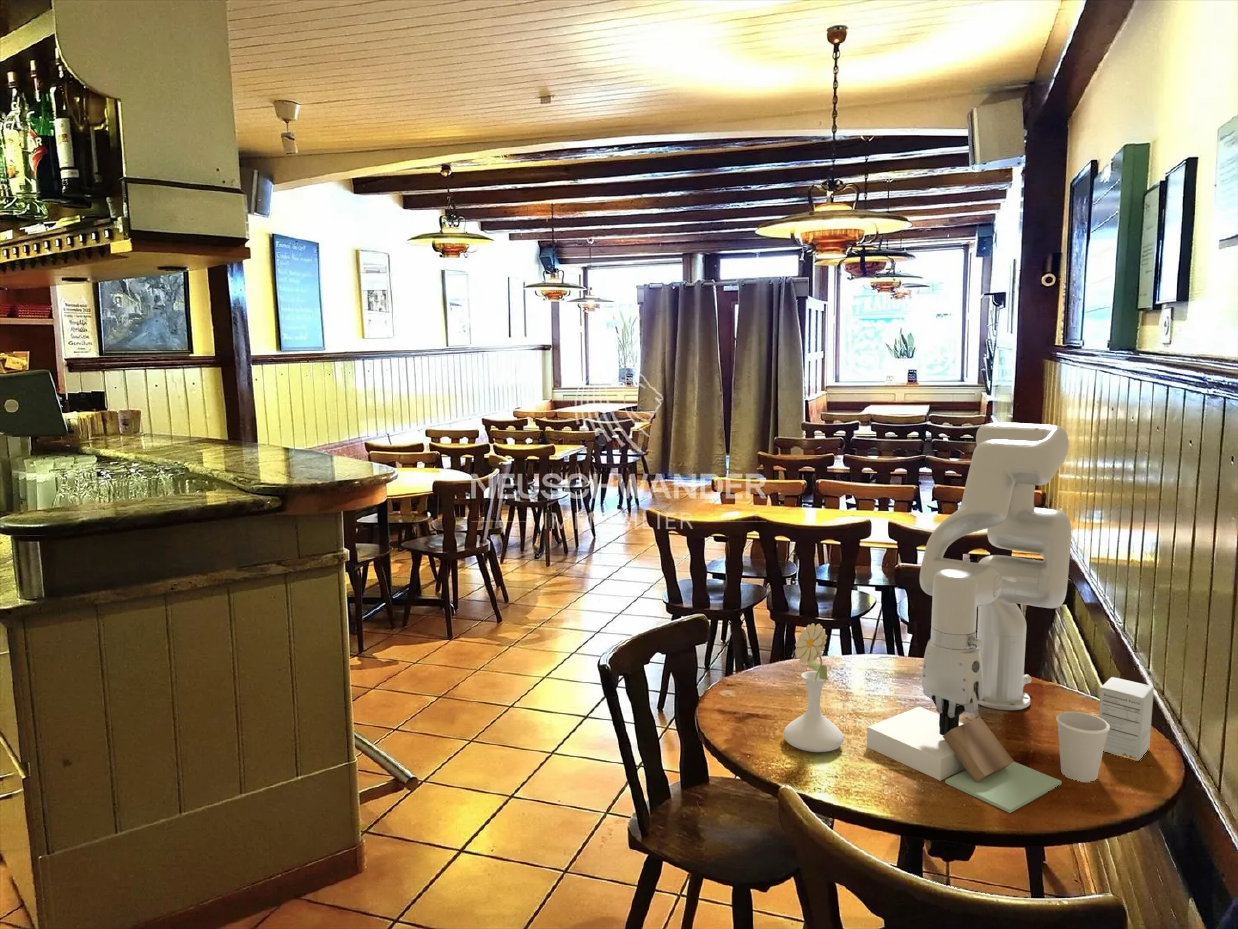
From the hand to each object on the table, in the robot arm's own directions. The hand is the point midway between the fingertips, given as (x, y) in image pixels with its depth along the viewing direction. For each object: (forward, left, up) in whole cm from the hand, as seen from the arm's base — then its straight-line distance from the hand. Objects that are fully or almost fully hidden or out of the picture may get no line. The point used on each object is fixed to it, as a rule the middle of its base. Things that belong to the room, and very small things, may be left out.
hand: (948, 734), depth 156 cm
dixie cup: (-14, +17, -5) cm, 23 cm away
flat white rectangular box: (0, -4, -5) cm, 6 cm away
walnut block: (0, +5, -2) cm, 5 cm away
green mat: (0, +11, -5) cm, 12 cm away
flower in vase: (+16, -18, -5) cm, 25 cm away
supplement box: (-30, +17, -5) cm, 35 cm away
